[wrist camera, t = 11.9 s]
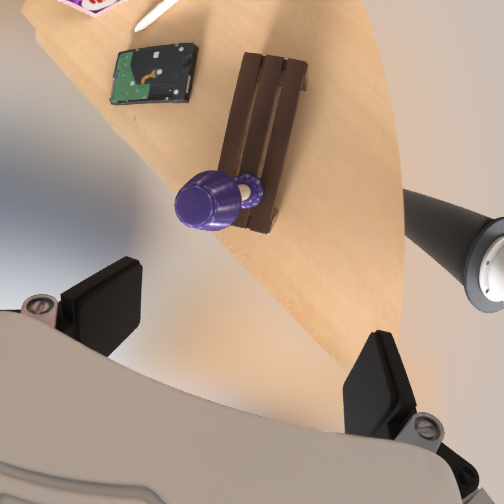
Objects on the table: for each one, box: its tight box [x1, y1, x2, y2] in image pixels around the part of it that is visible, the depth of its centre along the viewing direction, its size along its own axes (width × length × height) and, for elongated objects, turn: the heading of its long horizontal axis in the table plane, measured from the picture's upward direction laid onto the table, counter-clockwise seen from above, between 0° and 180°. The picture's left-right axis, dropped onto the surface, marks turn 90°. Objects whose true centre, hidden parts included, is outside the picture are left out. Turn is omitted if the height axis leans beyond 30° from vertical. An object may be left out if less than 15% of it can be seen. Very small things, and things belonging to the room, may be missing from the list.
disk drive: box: [109, 43, 199, 105], centre depth 38 cm, size 10×3×15 cm
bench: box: [218, 52, 308, 235], centre depth 36 cm, size 8×22×9 cm, turn 168°
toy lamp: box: [175, 170, 264, 231], centre depth 26 cm, size 5×5×17 cm
